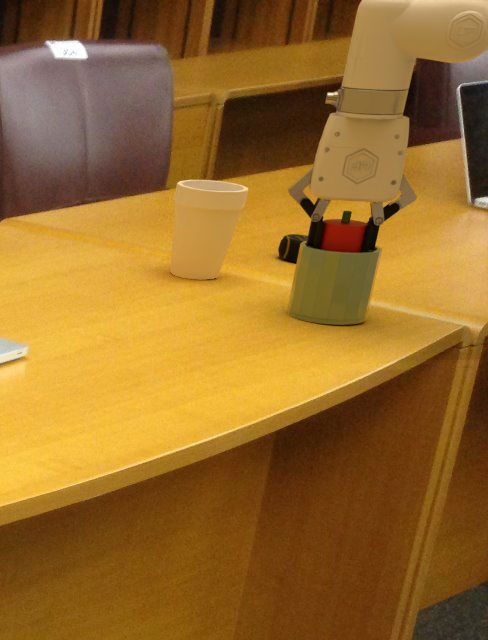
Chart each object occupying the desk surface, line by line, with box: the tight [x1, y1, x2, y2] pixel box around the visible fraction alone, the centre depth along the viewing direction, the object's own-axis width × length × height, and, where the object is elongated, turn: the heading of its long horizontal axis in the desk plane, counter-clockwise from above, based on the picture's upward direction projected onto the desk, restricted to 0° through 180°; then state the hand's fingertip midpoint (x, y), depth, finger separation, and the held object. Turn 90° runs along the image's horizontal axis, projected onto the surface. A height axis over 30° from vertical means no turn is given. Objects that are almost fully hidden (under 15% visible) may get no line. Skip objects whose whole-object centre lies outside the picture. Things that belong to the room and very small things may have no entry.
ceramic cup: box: [286, 241, 383, 326], centre depth 197 cm, size 9×9×9 cm
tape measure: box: [277, 233, 308, 263], centre depth 229 cm, size 7×7×4 cm
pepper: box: [319, 210, 368, 253], centre depth 195 cm, size 5×5×6 cm
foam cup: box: [169, 179, 249, 280], centre depth 217 cm, size 10×9×13 cm
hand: (338, 252), depth 196 cm, fingers closed on pepper, 5 cm apart
